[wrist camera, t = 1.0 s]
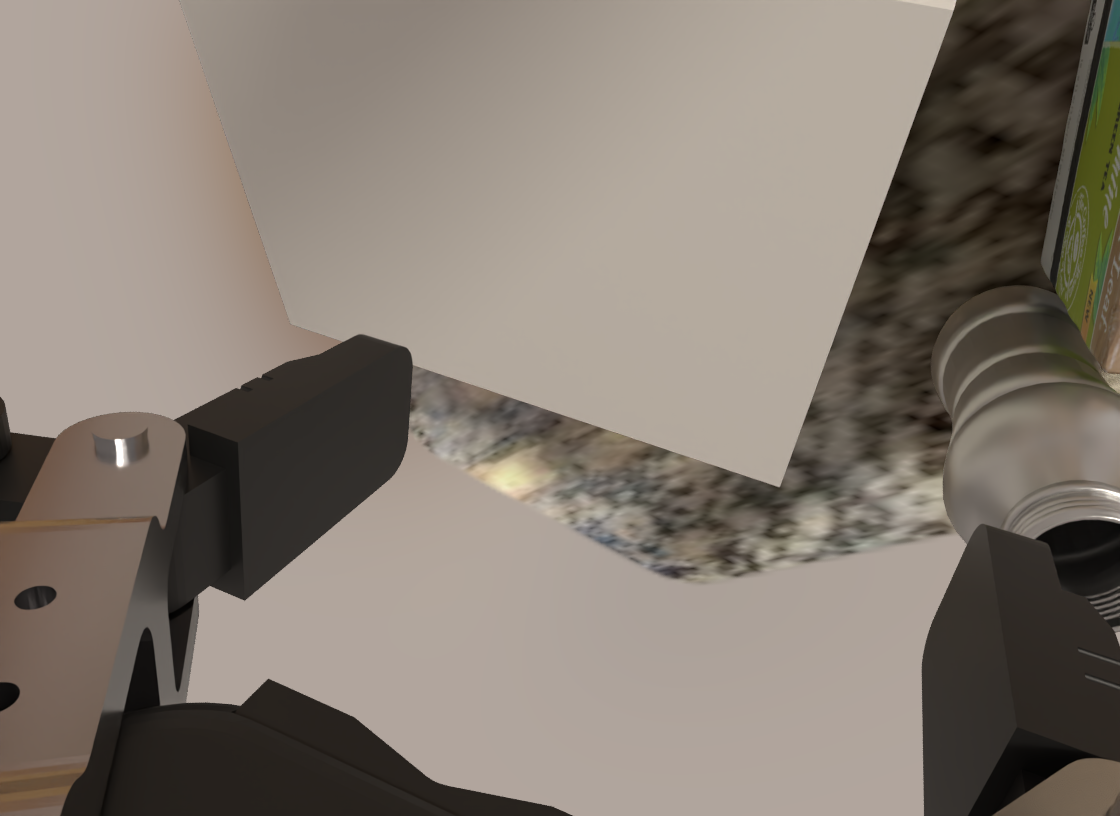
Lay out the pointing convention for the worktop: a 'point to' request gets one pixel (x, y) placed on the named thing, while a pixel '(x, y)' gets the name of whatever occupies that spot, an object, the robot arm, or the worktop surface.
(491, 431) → the worktop surface
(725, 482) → the worktop surface
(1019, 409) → the plastic bottle
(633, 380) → the carton lid
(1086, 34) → the tea box
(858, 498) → the worktop surface
